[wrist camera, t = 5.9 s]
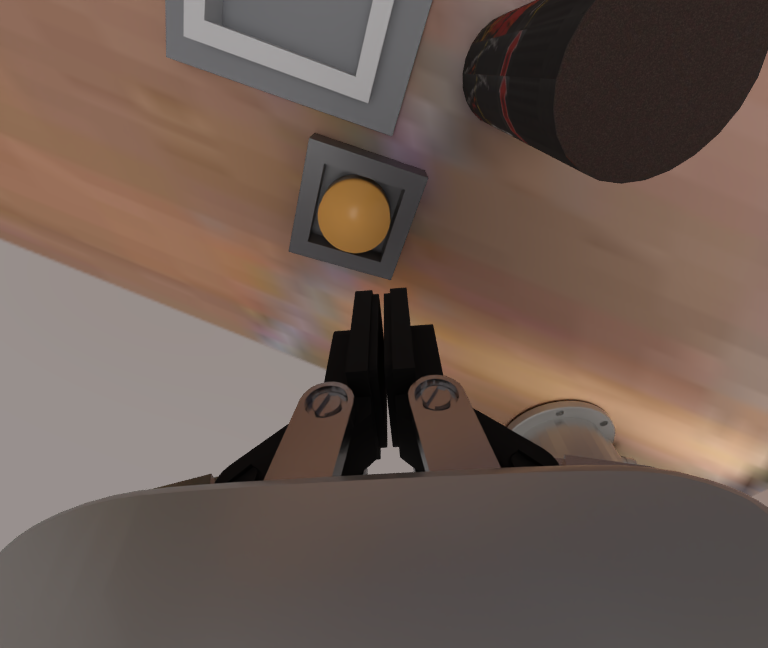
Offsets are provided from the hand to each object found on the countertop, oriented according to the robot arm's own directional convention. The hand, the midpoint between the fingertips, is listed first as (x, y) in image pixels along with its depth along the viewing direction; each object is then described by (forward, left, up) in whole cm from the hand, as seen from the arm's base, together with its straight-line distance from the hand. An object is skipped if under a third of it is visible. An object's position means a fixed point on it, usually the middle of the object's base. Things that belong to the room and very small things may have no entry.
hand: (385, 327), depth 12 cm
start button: (+1, +2, -17) cm, 17 cm away
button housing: (+2, +2, -18) cm, 18 cm away
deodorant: (-5, -9, -18) cm, 21 cm away
